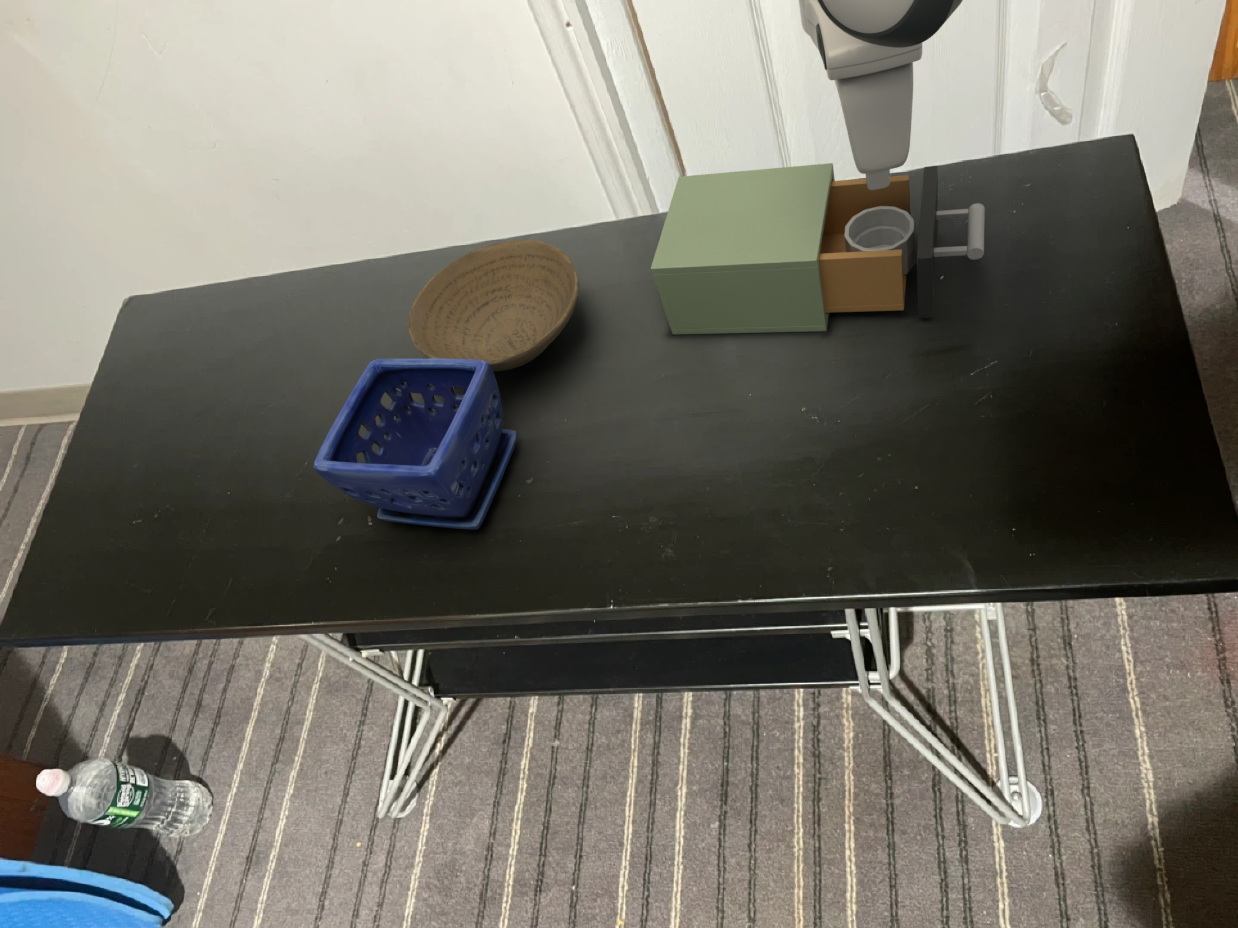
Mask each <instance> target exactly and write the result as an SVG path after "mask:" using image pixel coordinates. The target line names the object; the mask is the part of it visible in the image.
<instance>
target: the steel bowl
mask: <svg viewBox="0 0 1238 928" xmlns="http://www.w3.org/2000/svg"><path fill="white" fill-rule="evenodd" d="M915 232H916V231H915V219H914V218H913V216H912V215H911V213H910V214H909V213H908V212H907V211H904V210H902V209H899V208H897V207H890V206H878V207H874V208H870V209H866V210H864V211H862V212H860V213H858V214H857V215H855V216H853V217H852V218H851V220H850V221H849V222H848V224H847V225H846V226H845V235H844V238H845V247H846V252H863V251H882V250H900V249H902V256H903V276H904V275H905V274H907V275H908V273H910V271H911V269H912V268H913V266H914V265H915V264H916V237H915V235H916V233H915Z"/></svg>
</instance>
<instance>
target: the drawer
mask: <svg viewBox="0 0 1238 928" xmlns="http://www.w3.org/2000/svg"><path fill="white" fill-rule="evenodd" d="M938 172H939V166H938V165H932V166H924V167H923V175H922V176H923V178H922V190H921V202H920V213H919V214H920V215H919V227H918V228H919V229H918V240H917V251H916V267H917V268H916V272H917V273H916V274H917V275H916V278H917V314H918V318H919V319H921V318H923V319H924V318H933V311H934V296H935V294H934V293H935V277H936V266H937V265H936V262H937V258H938V257H957V256H967V258H968V259H970V260H974V261H975V260H976V261H977V260H979V259H981V258H983V256H984V255H985V222H986V221H985V220H986V218H985V217H986V208H985V206H984V204H982V203H979V202H977V203H973V204H971V205H970V206H969V207H968V208H962V209H961V208H960V209H959V208H958V209H946V210H939V190H938V189H939V183H938V182H939V181H938V180H939V173H938ZM910 188H911V187H910V175H909V174H901V175H890V185H889V186H888V187H886V188H882V189H877V190H869V189H868V187H867V181H866V177H863V178H854V179H842V180H841V179H839V180H835V181H832V182H831V188H830V194H829V200H828V206H827V212H826V218H825V224H824V230H823V236H822V243H821V249H820V255H819V261H818V262H819V268H820V275H821V282H822V289H823V296H824V304H825V311H826V313H828V312H829V313H854V312H855V313H856V312H893V311H896V312H897V311H904V310H905V305H906V304H905V303H906V302H905V301H906V292H907V282H908V281H907V280H908V273H907V274H905V275H904V276H903V256H902V249H900V250H882V251H863V252H846V247H845V238H844V235H845V226H846V225H847V224H848V222H849V221H850V220H851V218H852V217H853V216H855V215H857V214H858V213H860V212H862V211H864V210H866V209H870V208H874V207H878V206H890V207H897V208H899V209H902V210H904V211H907V212H908V213H909V214H910V215H911V189H910ZM954 219H967V239H966V243H967V244H966V245H958V246H939V247H938V245H937V244H938V230H939V220H954Z"/></svg>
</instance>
